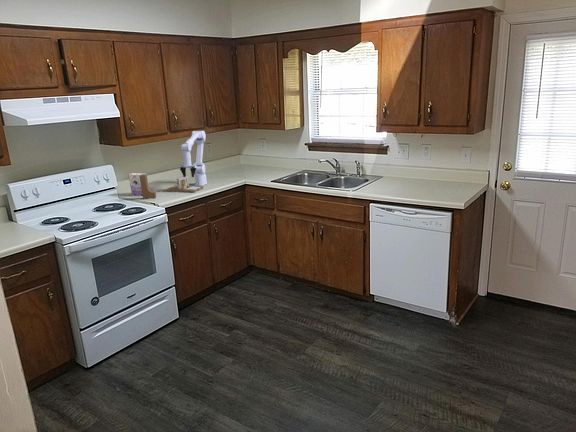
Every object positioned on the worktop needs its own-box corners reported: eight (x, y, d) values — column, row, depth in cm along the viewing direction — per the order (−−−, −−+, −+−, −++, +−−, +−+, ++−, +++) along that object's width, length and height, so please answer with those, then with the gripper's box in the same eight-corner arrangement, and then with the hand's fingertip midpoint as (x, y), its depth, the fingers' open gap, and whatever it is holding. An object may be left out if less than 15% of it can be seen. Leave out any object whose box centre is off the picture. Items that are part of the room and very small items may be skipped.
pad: (191, 187, 359) (191, 186, 359) (200, 187, 356) (200, 187, 356) (186, 189, 352) (185, 189, 352) (194, 189, 349) (194, 189, 349)
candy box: (149, 194, 352) (146, 173, 347) (143, 195, 347) (140, 174, 342) (137, 192, 358) (134, 172, 354) (131, 194, 354) (128, 173, 349)
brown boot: (156, 196, 341) (152, 173, 336) (155, 198, 337) (151, 174, 332) (144, 197, 341) (140, 174, 335) (143, 199, 336) (139, 175, 331)
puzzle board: (175, 187, 369) (175, 185, 369) (203, 188, 359) (203, 186, 359) (164, 191, 357) (164, 189, 356) (193, 192, 347) (193, 190, 346)
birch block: (183, 189, 361) (181, 179, 358) (187, 189, 359) (186, 179, 357) (180, 190, 357) (178, 180, 355) (184, 190, 356) (183, 180, 353)
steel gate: (186, 185, 363) (185, 175, 361) (188, 185, 362) (187, 175, 360) (178, 189, 353) (176, 178, 350) (180, 189, 352) (178, 178, 349)
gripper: (176, 160, 348) (178, 177, 351) (192, 160, 343) (193, 177, 346) (181, 159, 355) (183, 176, 358) (197, 159, 349) (198, 176, 352)
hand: (188, 177), depth 352 cm, fingers open, 7 cm apart
